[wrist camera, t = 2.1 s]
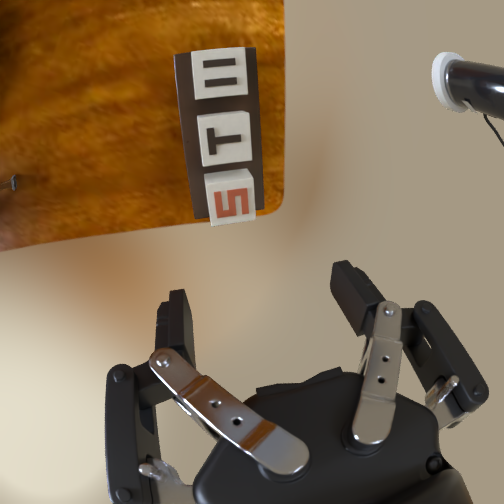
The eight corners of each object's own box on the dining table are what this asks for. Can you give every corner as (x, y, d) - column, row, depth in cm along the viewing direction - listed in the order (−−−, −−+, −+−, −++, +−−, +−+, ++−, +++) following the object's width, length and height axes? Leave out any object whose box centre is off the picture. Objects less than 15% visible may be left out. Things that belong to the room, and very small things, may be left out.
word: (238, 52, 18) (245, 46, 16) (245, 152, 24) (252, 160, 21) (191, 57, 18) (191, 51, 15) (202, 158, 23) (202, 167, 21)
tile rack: (240, 58, 25) (255, 47, 18) (249, 183, 34) (264, 209, 27) (178, 64, 24) (173, 54, 17) (194, 191, 33) (194, 219, 26)
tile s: (247, 168, 25) (253, 178, 22) (249, 206, 27) (256, 220, 24) (204, 173, 24) (205, 184, 21) (209, 212, 26) (211, 227, 24)
